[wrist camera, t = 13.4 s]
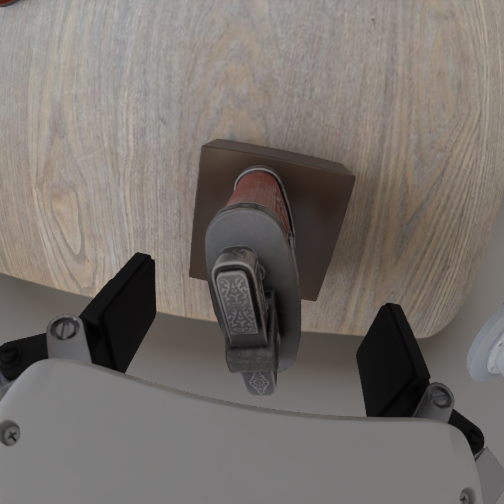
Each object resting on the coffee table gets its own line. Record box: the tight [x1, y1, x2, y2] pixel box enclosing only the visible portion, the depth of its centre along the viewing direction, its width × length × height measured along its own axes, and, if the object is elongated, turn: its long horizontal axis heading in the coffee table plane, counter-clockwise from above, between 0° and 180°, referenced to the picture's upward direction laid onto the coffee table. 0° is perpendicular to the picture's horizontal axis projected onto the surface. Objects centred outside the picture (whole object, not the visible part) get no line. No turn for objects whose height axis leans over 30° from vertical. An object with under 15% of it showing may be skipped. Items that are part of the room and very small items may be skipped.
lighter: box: [205, 165, 301, 396], centre depth 13 cm, size 8×3×10 cm, turn 9°
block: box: [189, 139, 356, 301], centre depth 19 cm, size 9×9×4 cm
